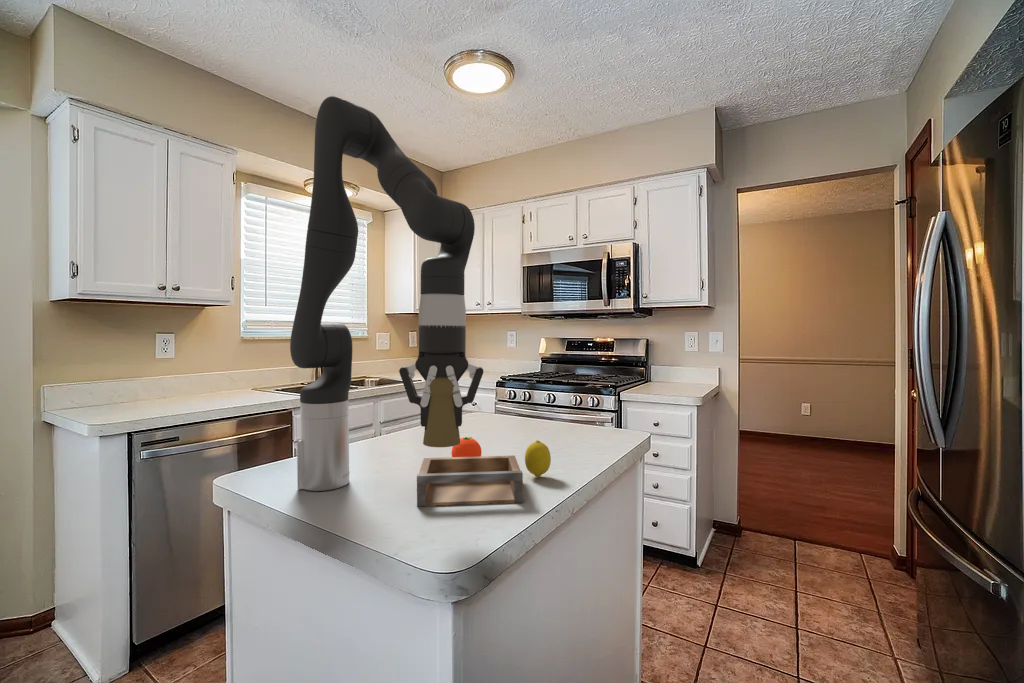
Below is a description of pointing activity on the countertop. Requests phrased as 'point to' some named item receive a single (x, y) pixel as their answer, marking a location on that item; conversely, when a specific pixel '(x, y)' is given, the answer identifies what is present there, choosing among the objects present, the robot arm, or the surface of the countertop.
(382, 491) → the countertop surface
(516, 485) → the box
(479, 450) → the clementine
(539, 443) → the lemon
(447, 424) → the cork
